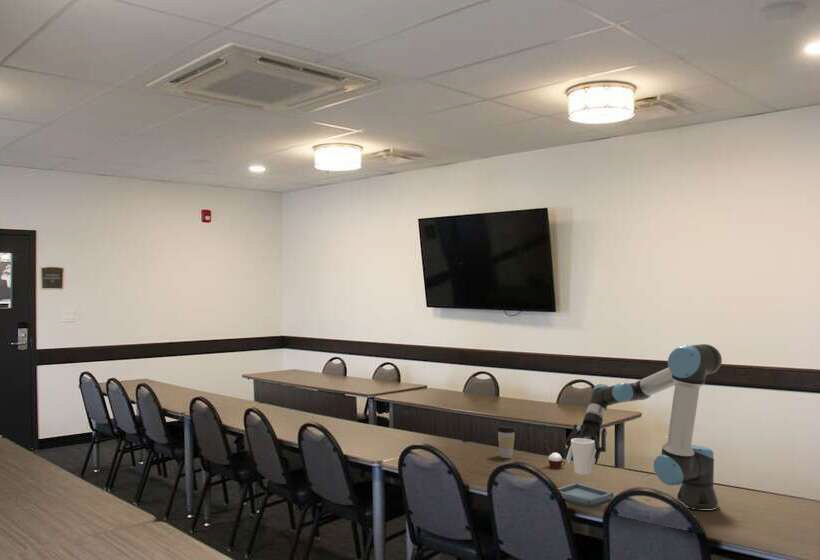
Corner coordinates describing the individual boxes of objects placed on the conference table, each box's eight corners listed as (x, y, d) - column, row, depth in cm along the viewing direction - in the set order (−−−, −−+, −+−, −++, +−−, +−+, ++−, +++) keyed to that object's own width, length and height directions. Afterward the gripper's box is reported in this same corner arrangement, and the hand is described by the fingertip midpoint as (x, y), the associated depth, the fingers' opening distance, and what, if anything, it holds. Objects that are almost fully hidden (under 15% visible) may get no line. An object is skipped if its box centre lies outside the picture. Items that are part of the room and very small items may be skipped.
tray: (613, 499, 276) (613, 493, 276) (589, 507, 266) (589, 501, 266) (576, 488, 290) (576, 482, 290) (552, 496, 280) (552, 490, 280)
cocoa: (566, 468, 322) (567, 443, 322) (557, 470, 318) (559, 444, 318) (550, 463, 329) (551, 438, 329) (541, 465, 325) (543, 440, 325)
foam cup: (592, 469, 283) (592, 438, 283) (596, 476, 274) (596, 443, 274) (569, 469, 284) (569, 437, 284) (572, 475, 275) (572, 443, 275)
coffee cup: (495, 458, 338) (495, 428, 338) (498, 453, 347) (498, 424, 347) (514, 459, 336) (514, 429, 336) (517, 455, 345) (517, 425, 345)
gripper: (622, 425, 285) (608, 472, 272) (571, 419, 298) (556, 463, 285) (617, 414, 280) (604, 461, 267) (567, 409, 293) (551, 453, 280)
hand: (579, 462), depth 276 cm, fingers closed on foam cup, 9 cm apart
